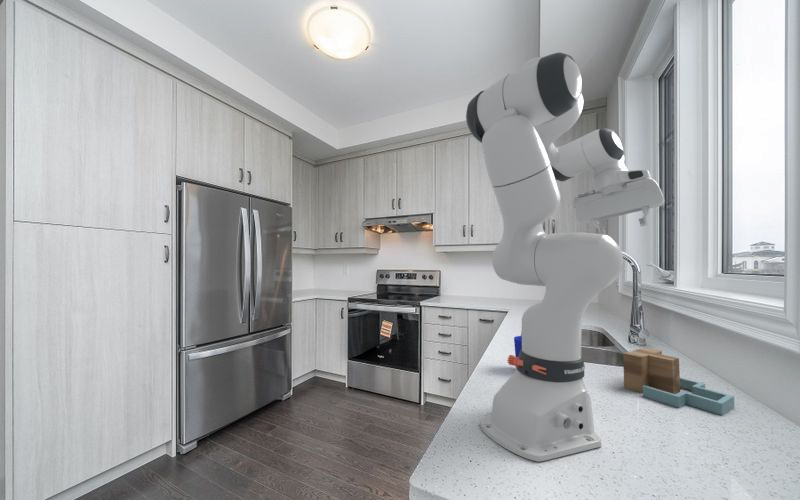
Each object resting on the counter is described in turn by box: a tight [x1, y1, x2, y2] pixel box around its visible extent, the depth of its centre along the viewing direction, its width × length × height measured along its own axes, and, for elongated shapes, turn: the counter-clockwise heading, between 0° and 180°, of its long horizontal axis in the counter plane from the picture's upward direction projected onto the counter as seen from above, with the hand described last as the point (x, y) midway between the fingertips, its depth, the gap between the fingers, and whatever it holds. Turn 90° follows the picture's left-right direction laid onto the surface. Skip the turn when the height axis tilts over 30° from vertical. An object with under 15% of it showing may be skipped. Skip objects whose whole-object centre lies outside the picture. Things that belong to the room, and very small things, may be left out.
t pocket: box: [642, 376, 735, 416], centre depth 74 cm, size 16×13×2 cm
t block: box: [622, 347, 681, 394], centre depth 80 cm, size 12×9×9 cm
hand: (622, 229), depth 84 cm, fingers open, 8 cm apart
